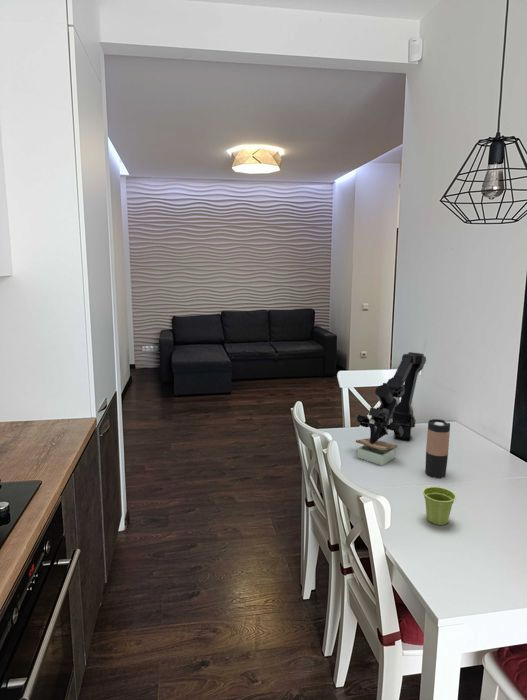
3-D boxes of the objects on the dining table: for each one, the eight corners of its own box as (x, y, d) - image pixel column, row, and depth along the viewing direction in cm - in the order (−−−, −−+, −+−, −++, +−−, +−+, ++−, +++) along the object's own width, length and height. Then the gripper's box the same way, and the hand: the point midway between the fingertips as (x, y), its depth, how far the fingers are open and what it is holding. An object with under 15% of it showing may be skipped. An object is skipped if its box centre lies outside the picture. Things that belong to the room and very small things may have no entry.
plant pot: (417, 511, 148) (418, 486, 146) (447, 512, 148) (449, 486, 146) (426, 528, 139) (428, 501, 137) (458, 528, 139) (460, 501, 137)
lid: (369, 440, 195) (370, 438, 195) (396, 447, 188) (396, 445, 188) (355, 442, 187) (355, 440, 187) (383, 450, 179) (383, 448, 179)
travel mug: (423, 476, 172) (427, 424, 168) (425, 468, 179) (428, 418, 175) (446, 480, 169) (450, 427, 165) (446, 471, 176) (450, 420, 172)
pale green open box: (370, 450, 196) (370, 441, 195) (394, 457, 188) (395, 448, 188) (357, 457, 188) (357, 448, 188) (382, 465, 181) (382, 455, 180)
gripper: (359, 394, 191) (343, 427, 185) (402, 404, 178) (386, 439, 172) (368, 409, 198) (353, 441, 192) (410, 418, 185) (395, 453, 180)
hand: (371, 443), depth 184 cm, fingers closed, pressing on lid
